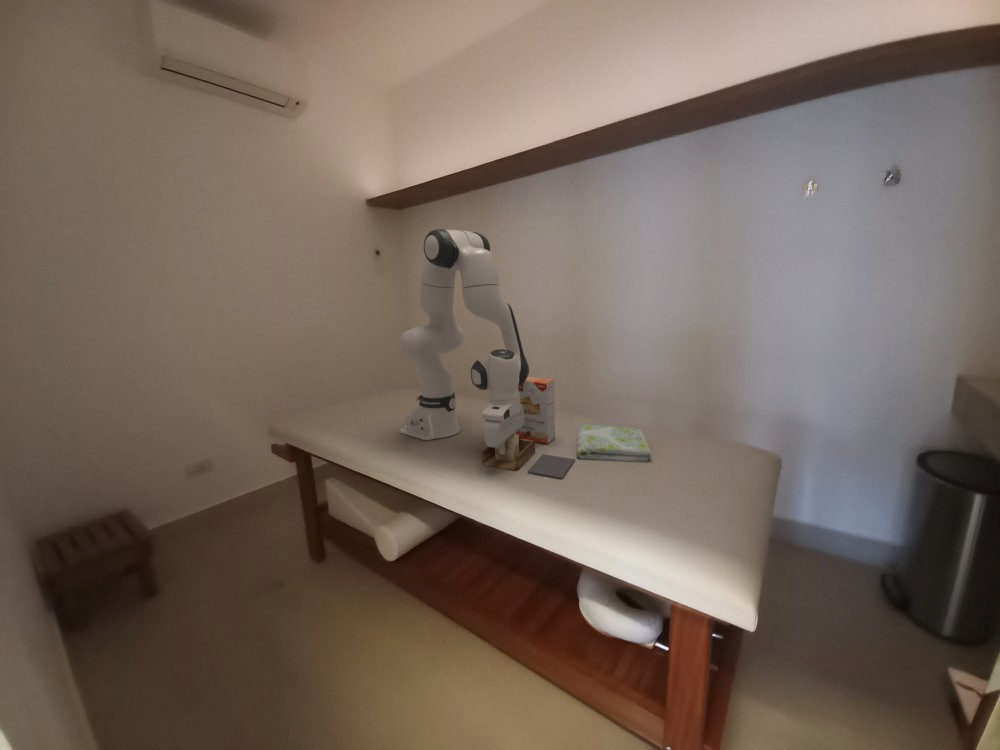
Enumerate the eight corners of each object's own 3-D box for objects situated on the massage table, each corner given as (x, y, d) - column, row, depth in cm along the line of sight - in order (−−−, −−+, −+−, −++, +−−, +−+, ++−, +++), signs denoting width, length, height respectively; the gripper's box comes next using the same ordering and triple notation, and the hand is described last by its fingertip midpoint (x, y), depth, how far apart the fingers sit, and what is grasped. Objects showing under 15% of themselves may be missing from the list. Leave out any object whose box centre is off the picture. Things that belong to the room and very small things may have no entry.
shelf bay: (480, 464, 117) (479, 452, 116) (500, 447, 128) (500, 435, 128) (517, 471, 112) (516, 458, 111) (535, 452, 123) (534, 440, 122)
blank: (495, 459, 119) (494, 437, 117) (501, 453, 122) (500, 432, 121) (513, 462, 116) (512, 439, 115) (519, 456, 120) (518, 435, 118)
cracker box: (510, 438, 136) (507, 378, 131) (519, 432, 141) (517, 374, 136) (547, 445, 128) (546, 382, 124) (555, 439, 133) (554, 378, 128)
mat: (527, 473, 110) (527, 471, 110) (542, 456, 121) (542, 454, 120) (562, 479, 106) (562, 477, 106) (574, 461, 116) (574, 459, 116)
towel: (652, 464, 113) (652, 447, 112) (576, 460, 118) (576, 444, 116) (643, 439, 130) (644, 424, 129) (577, 437, 135) (577, 422, 134)
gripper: (510, 395, 126) (512, 436, 129) (478, 415, 108) (481, 462, 111) (528, 397, 123) (530, 438, 126) (499, 417, 105) (501, 465, 108)
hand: (507, 449), depth 119 cm, fingers closed on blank, 4 cm apart
